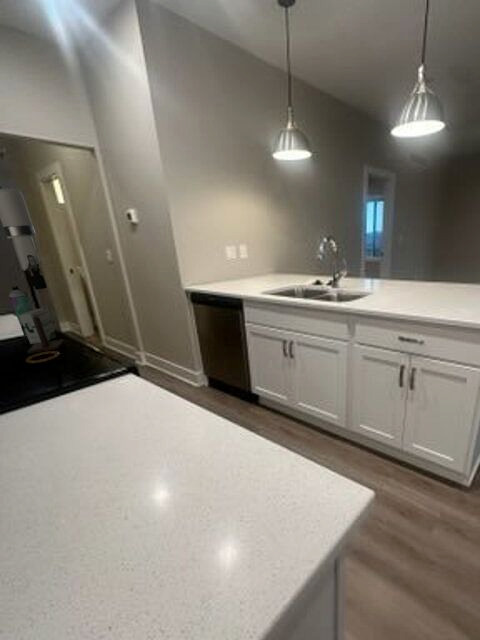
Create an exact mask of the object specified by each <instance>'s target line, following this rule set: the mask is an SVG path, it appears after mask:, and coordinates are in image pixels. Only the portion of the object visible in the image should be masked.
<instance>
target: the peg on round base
mask: <svg viewBox="0 0 480 640" xmlns="http://www.w3.org/2000/svg"><path fill="white" fill-rule="evenodd" d="M33 321H34V324H35V327H36V329H37V332H38V335H39V338H40V340H41V342H40V343H34V344H32V346H30V347H29V349H27V351H26V353H27V354H36V353H41V352H47V351H56V350H59V348H60V347H61V346H62V345H63V343H64V342H65V341H64V338H63V339H55V340H49V341H48V340H47V337H46V334H45V331H44V329H43V326H42V323H41V320H40V317H36V318H33Z"/></svg>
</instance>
